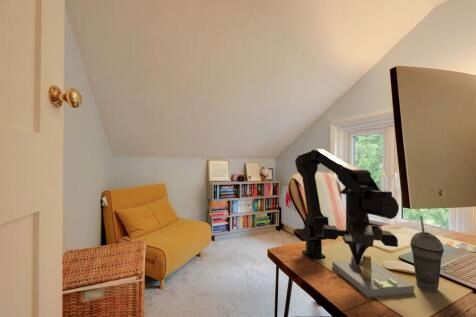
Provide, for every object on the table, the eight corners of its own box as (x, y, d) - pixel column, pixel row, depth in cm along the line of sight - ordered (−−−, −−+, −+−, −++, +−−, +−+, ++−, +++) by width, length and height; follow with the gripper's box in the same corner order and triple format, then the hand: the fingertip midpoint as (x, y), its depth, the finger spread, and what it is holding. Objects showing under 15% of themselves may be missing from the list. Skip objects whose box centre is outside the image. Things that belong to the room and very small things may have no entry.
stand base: (332, 267, 71) (332, 258, 71) (369, 265, 72) (369, 256, 73) (368, 297, 55) (368, 285, 55) (414, 293, 57) (414, 282, 57)
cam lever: (349, 261, 70) (349, 243, 70) (366, 263, 68) (366, 245, 68) (358, 278, 60) (358, 257, 60) (378, 281, 58) (378, 259, 58)
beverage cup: (432, 297, 55) (431, 221, 56) (404, 282, 62) (403, 215, 63) (451, 292, 57) (450, 219, 58) (421, 278, 64) (420, 213, 65)
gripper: (325, 213, 57) (325, 271, 56) (407, 220, 51) (408, 285, 50) (322, 206, 67) (321, 255, 67) (389, 211, 62) (390, 265, 61)
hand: (356, 264), depth 61 cm, fingers closed
